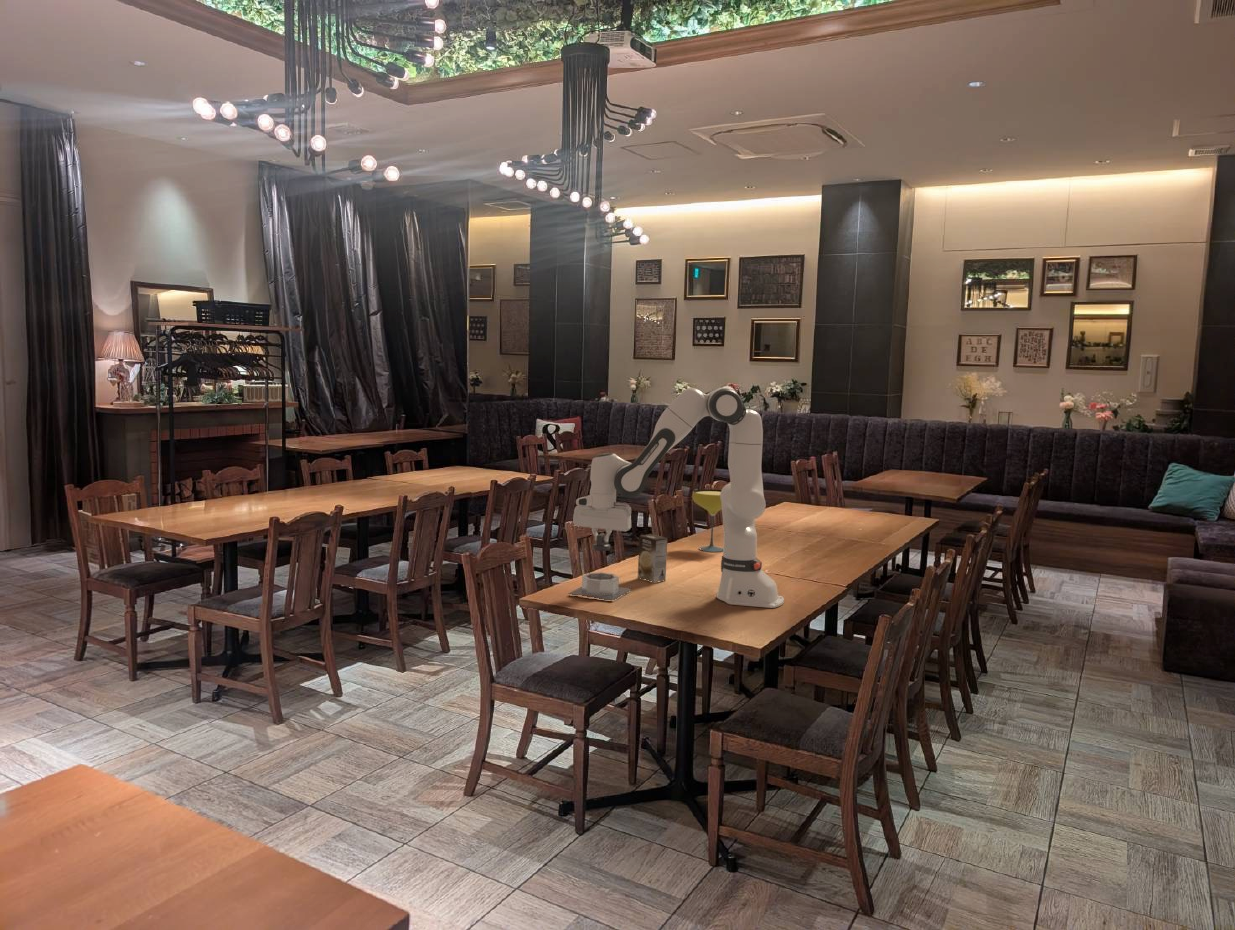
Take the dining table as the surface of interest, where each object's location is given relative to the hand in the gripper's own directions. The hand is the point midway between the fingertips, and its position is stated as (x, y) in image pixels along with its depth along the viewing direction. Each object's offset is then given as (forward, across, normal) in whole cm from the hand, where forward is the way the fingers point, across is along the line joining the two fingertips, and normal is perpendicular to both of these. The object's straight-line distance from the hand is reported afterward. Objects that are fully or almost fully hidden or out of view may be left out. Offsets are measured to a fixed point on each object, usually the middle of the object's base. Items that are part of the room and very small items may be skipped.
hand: (601, 541), depth 294 cm
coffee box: (+18, -8, -28) cm, 34 cm away
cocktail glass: (+18, -11, -92) cm, 94 cm away
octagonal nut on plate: (+18, 0, 0) cm, 18 cm away
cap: (+3, 0, 0) cm, 3 cm away
